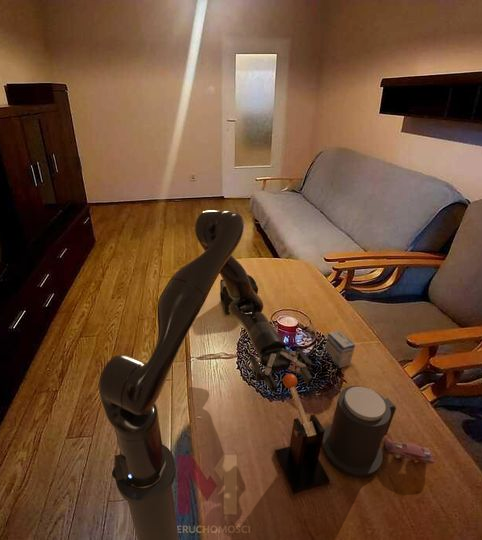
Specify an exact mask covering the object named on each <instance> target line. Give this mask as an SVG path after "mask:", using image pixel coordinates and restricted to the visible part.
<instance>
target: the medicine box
mask: <svg viewBox="0 0 482 540" xmlns="http://www.w3.org/2000/svg"><path fill="white" fill-rule="evenodd" d="M355 347H356V345H355V344H354V343H353V342H352V341H351V340H350V339H349V338H348V337H347V336H346V335H344V333H342V332H341V331H340V330H339V329H338V330H333V331H331V332H328V333H327V336H326V341H325V345H324V350H326V351H327V353H328V354H329V355H330V356H331V357H332V358H333V359H332V358H331V357H330V356H329V355H328V354H327V353H326V352H325V353H326V354H325V353H324V354H325V355H326V357H328V359H330V360H331V362H332V363H333V364H335V366H336V367H337V368H338V369H341V368H345V367H348V366H351V363H352V359H353V355H354V352H355Z"/></svg>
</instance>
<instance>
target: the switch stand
mask: <svg viewBox="0 0 482 540" xmlns="http://www.w3.org/2000/svg"><path fill="white" fill-rule="evenodd" d="M311 421H312V423H313V426H314V428H315V431H316V434H317V435H316V436H314V437H311V438H307V436H308V435H307V433H306V432H305V430H304V428H303V426H302V421H301V420H300V418H298V417H297V418H293V423H292V429H291V436H290V441H289V446H287V447H282V448H278V449H275V451H274V454H275V457H276V458H277V461H278V463H279V465H280V467H281V470H282V472H283V475H284V477H285V479H286V481H287V484H288V486H289V488H290V491H291V493H292V495H295V494H298V493H301V492H305V491H309V490H312V489H315V488H318V487H322V486H326V485H329V484H330V482H331V481H330V479H329V476H328V475H327V473H326V470H325V469H324V467H323V466H322V464H321V462H320V459H319V458H320V453H321V450H322V441H323V436H324V432H325V431H324V430H325V429H324V427H323V425H322V424H321V422H320V421H319V419H318V418H317V415H315V413H314V414H310V416H309V420H308V422H311Z"/></svg>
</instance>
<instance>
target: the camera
mask: <svg viewBox="0 0 482 540" xmlns="http://www.w3.org/2000/svg"><path fill="white" fill-rule="evenodd" d="M247 275H248V278H249V281H250V284H251V287H252V289H253V290H254V291H255V293H256V294H257V295H258V293H259V286H258V285H257V282H256V279H254V278H253V276H252V275H249V274H247ZM219 285H220V286H219V287H220V291H219V297H220V304H221V307H222V308H223V311H224V314H225V315H231V314H230V311H229V306H230V304H231V302H232V301H234V300H233V299H232V298H231V297H230V295H229V293H228V291H227V288H226V286H225V283H224V281H223V279H222V278H221V279H220V283H219Z"/></svg>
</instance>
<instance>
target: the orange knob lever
mask: <svg viewBox="0 0 482 540" xmlns="http://www.w3.org/2000/svg"><path fill="white" fill-rule="evenodd" d="M298 382H299V381H298V377H297V376H296V375H295V374H293V373H286V374H285V375H284V376H283V377H282V384H283V386H284V387H285V388H287V389H289V390H290V393H291V397H292V398H293V402H294V404H295V407H296V410H297V411H298V412H297V413H298V415H299V419H300V422H301V424H302V426H303V428H304V430H305V432H306V433H307V435H308V436H307V438H311V437H314V436H316V435H317V434H316V431H315V428H314V426H313V423H312V421H311V422H309V420H308V417H307V414H306V412H305V409H304V405H303V404H302V401H301V398H300V395H299V393H298V390H297V388H296V387H297V385H298Z"/></svg>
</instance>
